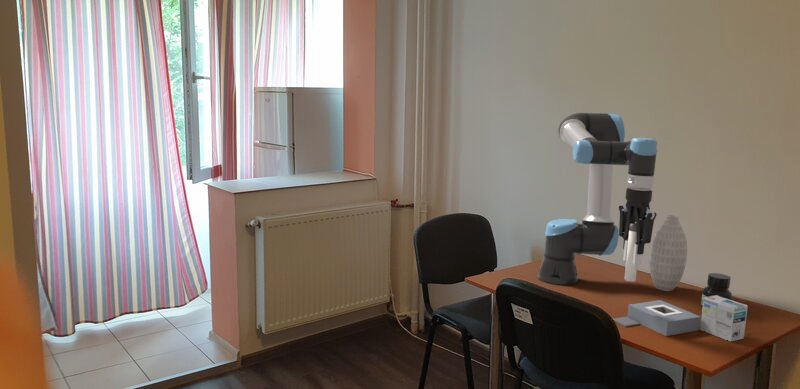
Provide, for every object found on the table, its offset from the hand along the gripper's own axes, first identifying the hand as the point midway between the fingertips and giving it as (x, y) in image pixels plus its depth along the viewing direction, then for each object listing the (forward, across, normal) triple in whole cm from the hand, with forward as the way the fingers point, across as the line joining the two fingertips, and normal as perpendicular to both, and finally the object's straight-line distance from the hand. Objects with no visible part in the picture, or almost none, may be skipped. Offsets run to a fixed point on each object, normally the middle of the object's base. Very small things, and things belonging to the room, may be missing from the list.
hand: (631, 261), depth 195 cm
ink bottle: (+20, +1, +40) cm, 44 cm away
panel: (+20, +5, +10) cm, 23 cm away
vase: (+20, -22, +40) cm, 50 cm away
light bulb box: (+20, +18, +22) cm, 35 cm away
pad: (+20, 0, 0) cm, 20 cm away
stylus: (+6, 0, 0) cm, 6 cm away
